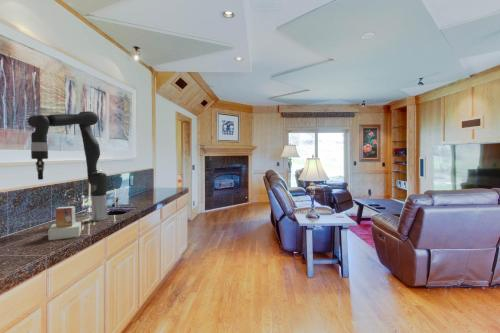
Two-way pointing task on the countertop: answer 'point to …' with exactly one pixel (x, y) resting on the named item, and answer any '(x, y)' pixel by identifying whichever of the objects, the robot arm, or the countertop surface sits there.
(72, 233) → the block
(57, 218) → the small box
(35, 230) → the countertop surface
